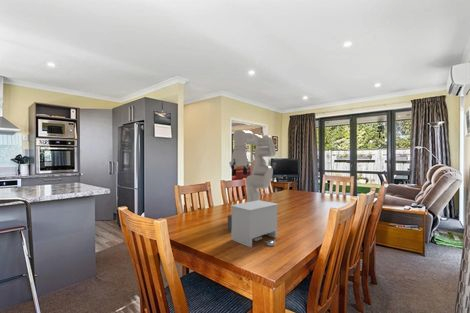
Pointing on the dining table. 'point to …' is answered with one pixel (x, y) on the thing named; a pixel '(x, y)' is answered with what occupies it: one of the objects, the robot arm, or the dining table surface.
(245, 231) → the cabinet
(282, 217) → the dining table surface
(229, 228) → the blade tool
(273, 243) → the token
